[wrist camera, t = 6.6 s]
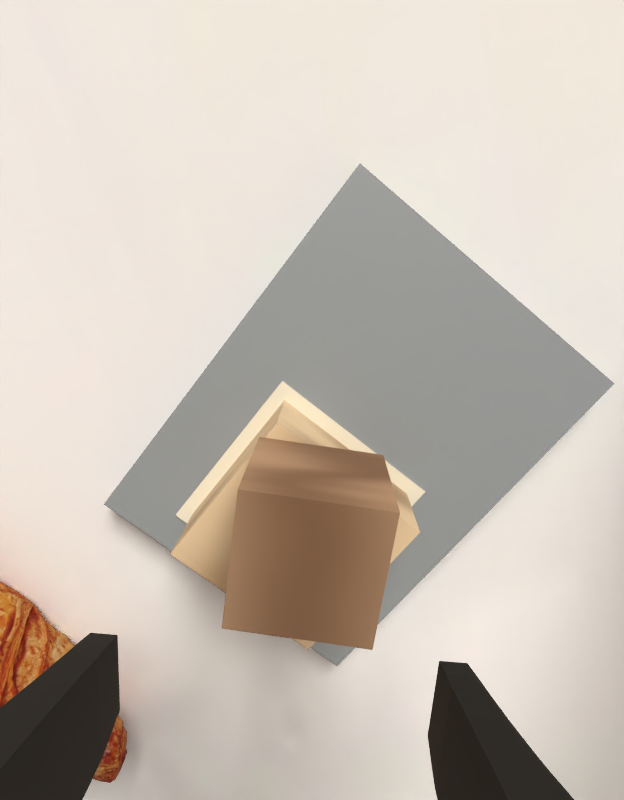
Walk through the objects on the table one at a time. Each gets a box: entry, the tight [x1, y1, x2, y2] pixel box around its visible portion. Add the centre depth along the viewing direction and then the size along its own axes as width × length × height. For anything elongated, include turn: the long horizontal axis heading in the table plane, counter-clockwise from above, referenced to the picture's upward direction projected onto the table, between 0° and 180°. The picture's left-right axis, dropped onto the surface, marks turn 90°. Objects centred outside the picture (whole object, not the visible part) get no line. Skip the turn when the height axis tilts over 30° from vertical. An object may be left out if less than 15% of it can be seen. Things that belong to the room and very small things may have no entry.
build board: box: [104, 164, 614, 666], centre depth 20 cm, size 12×16×1 cm
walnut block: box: [222, 437, 400, 650], centre depth 15 cm, size 4×4×4 cm
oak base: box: [170, 400, 420, 650], centre depth 19 cm, size 6×6×3 cm
